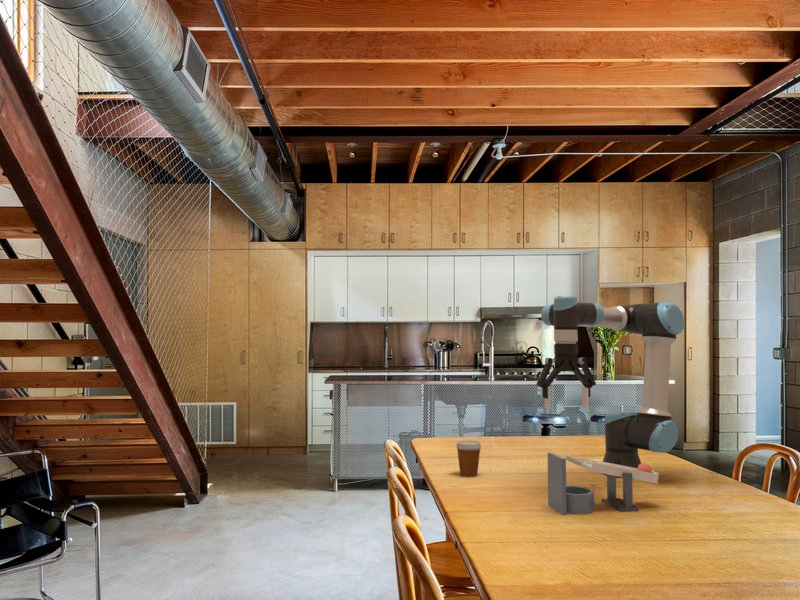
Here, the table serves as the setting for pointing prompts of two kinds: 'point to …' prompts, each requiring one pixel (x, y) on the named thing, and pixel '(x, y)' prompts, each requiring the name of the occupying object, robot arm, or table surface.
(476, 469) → the disposable coffee cup
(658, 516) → the table surface
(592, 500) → the cup
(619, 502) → the trough stand
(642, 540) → the table surface
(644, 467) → the rubber ball
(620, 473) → the lever
